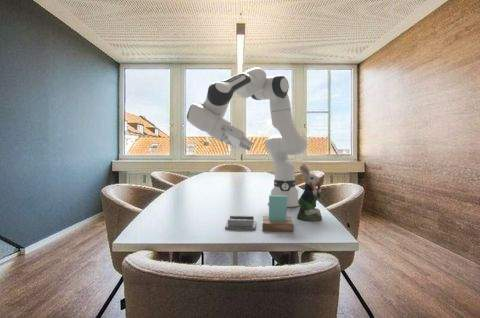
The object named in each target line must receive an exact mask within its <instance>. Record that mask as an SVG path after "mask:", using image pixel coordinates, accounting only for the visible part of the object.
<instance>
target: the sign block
mask: <svg viewBox="0 0 480 318" xmlns="http://www.w3.org/2000/svg"><path fill="white" fill-rule="evenodd" d="M268 202H269V205H268V216H269V221H286V217H287V208H288V207H287V196H286V195H271V194H268Z"/></svg>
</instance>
